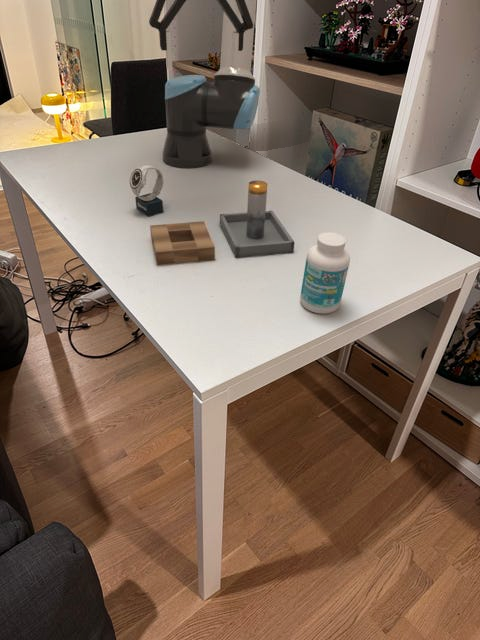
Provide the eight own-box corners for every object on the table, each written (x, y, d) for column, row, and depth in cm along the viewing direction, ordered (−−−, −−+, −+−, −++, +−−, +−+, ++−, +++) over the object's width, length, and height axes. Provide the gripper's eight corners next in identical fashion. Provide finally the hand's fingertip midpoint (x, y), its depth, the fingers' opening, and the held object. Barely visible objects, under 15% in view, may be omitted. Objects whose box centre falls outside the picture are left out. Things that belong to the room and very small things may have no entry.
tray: (219, 224, 110) (219, 214, 108) (271, 220, 113) (272, 210, 111) (235, 257, 98) (235, 247, 96) (293, 252, 100) (294, 242, 99)
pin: (248, 240, 103) (251, 188, 95) (244, 231, 106) (246, 181, 98) (266, 238, 104) (269, 187, 96) (260, 230, 107) (264, 179, 99)
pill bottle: (295, 309, 84) (304, 243, 76) (305, 288, 90) (314, 225, 81) (335, 319, 82) (349, 253, 74) (343, 297, 88) (357, 233, 79)
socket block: (151, 237, 103) (150, 225, 101) (204, 233, 106) (203, 221, 104) (156, 265, 94) (155, 252, 92) (214, 259, 97) (214, 247, 95)
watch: (129, 210, 114) (124, 166, 107) (157, 203, 118) (154, 160, 111) (141, 219, 110) (136, 173, 104) (169, 210, 115) (167, 166, 108)
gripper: (130, -71, 76) (142, 72, 89) (274, -62, 82) (265, 72, 95) (128, -69, 82) (139, 65, 95) (262, -61, 88) (255, 65, 101)
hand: (202, 69), depth 95 cm, fingers open, 13 cm apart
